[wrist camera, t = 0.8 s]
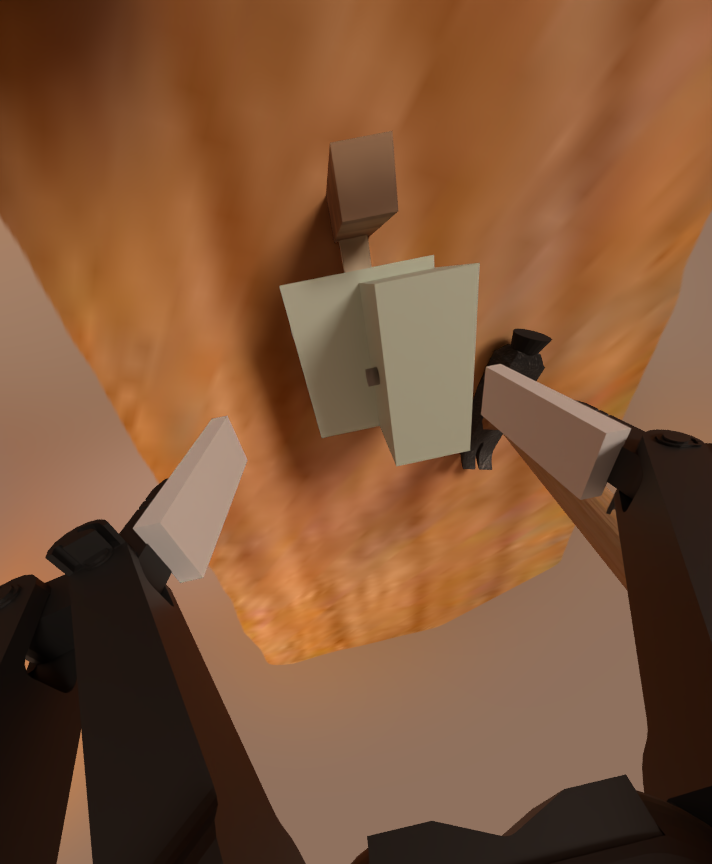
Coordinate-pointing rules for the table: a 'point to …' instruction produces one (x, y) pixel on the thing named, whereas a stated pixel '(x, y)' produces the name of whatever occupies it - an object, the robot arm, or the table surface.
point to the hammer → (486, 436)
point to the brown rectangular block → (360, 194)
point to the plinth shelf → (391, 353)
